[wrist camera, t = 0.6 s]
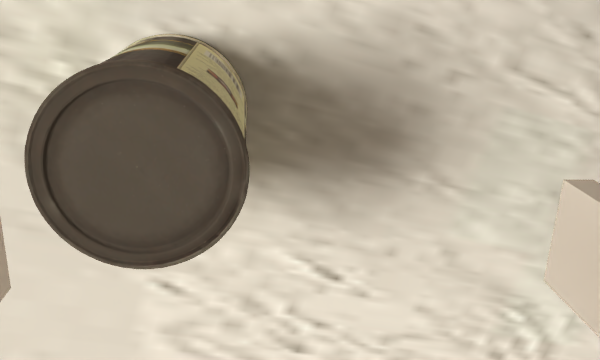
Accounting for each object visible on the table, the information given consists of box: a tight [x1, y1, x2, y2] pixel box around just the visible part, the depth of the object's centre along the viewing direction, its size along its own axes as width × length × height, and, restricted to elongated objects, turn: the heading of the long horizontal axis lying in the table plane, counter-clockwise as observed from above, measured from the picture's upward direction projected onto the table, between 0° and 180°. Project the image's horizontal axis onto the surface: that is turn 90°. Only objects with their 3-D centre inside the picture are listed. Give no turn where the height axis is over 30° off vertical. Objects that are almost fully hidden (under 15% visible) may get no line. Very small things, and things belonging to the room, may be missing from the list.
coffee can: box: [25, 34, 249, 269], centre depth 33 cm, size 10×10×14 cm
